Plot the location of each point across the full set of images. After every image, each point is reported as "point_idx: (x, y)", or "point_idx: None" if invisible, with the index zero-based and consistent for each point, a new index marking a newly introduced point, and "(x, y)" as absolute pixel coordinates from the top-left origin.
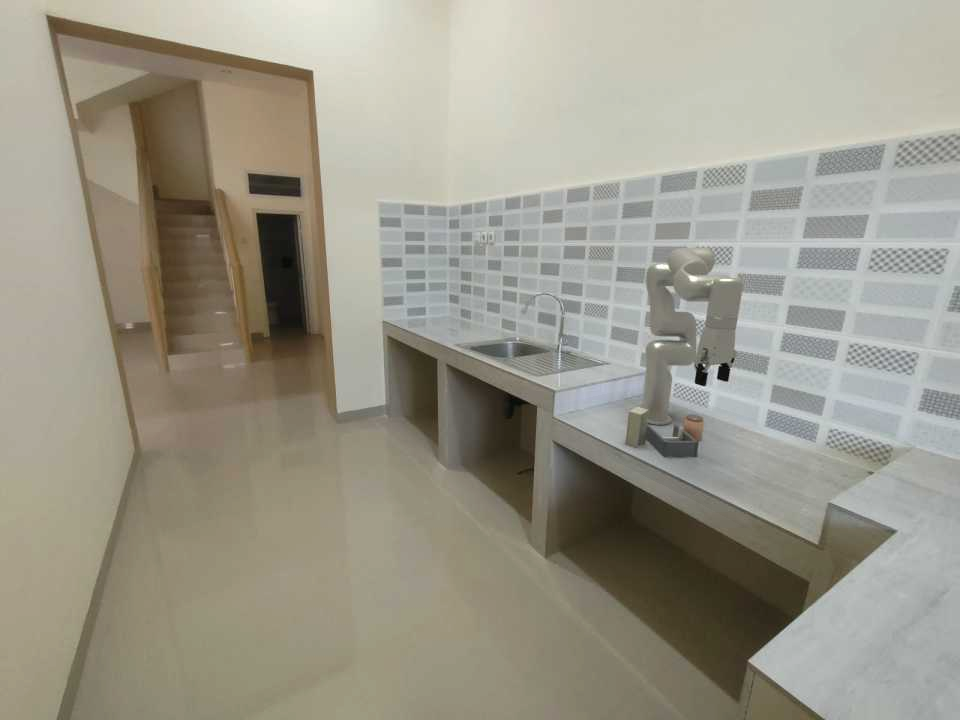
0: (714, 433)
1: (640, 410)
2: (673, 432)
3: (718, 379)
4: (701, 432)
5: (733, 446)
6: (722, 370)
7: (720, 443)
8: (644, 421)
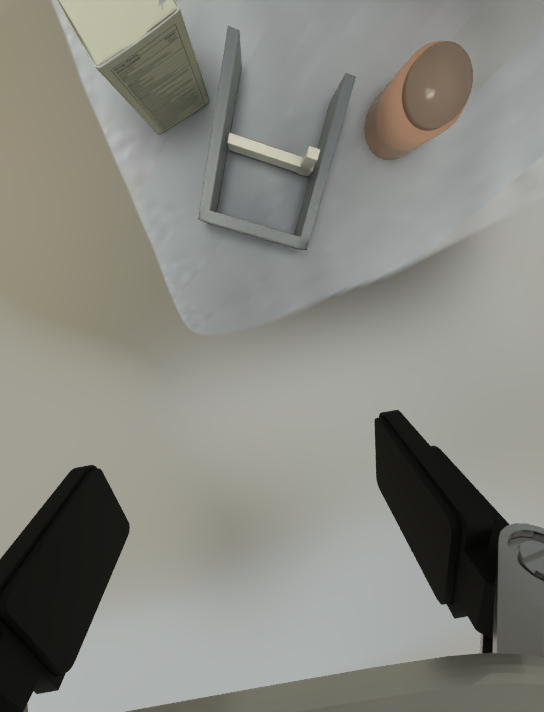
0: (493, 121)
1: (122, 1)
2: (335, 93)
3: (378, 424)
4: (413, 148)
5: (449, 227)
6: (423, 530)
7: (435, 197)
8: (160, 70)
